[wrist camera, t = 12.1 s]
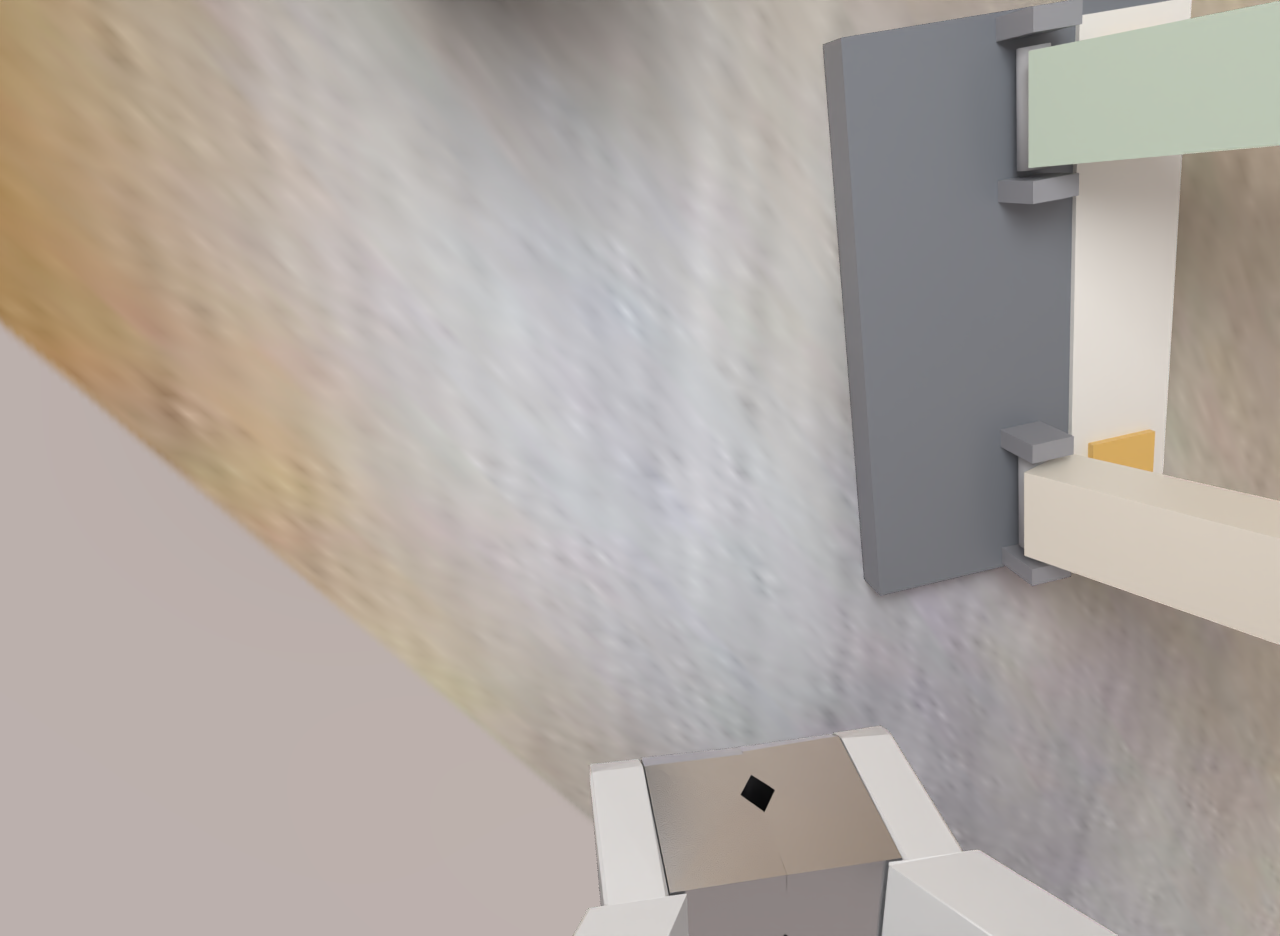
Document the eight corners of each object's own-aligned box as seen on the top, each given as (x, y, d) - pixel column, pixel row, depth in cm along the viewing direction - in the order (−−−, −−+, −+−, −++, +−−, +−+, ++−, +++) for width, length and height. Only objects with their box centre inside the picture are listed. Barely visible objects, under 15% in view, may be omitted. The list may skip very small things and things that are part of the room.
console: (864, 579, 35) (903, 620, 32) (823, 44, 28) (868, 27, 25) (1129, 515, 36) (1193, 550, 33) (1154, -10, 29) (1238, -34, 26)
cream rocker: (1001, 550, 33) (1518, 733, 21) (1000, 462, 32) (1551, 602, 19) (1040, 529, 34) (1554, 692, 22) (1041, 443, 33) (1588, 564, 20)
